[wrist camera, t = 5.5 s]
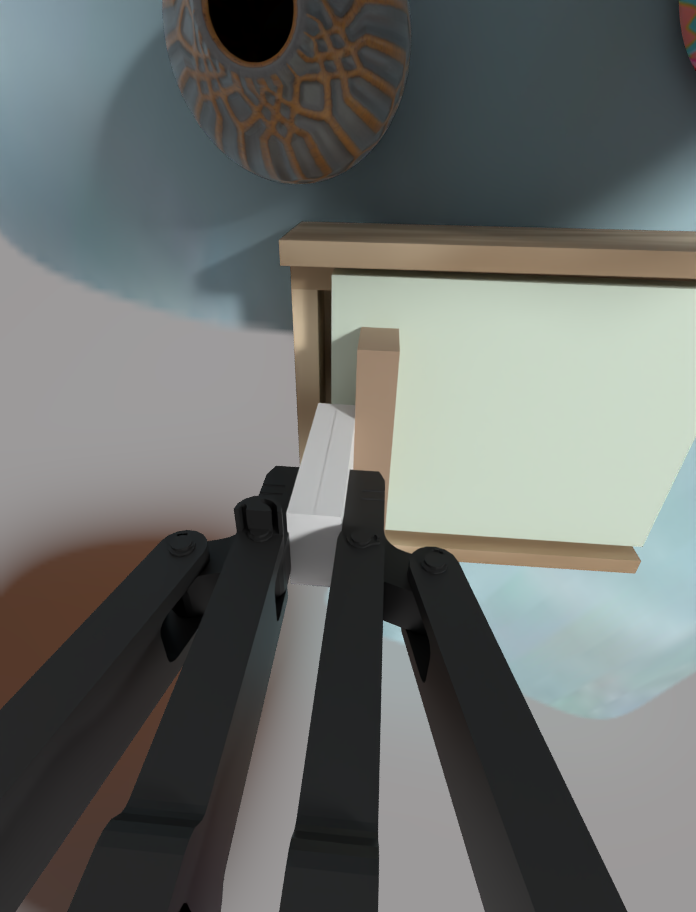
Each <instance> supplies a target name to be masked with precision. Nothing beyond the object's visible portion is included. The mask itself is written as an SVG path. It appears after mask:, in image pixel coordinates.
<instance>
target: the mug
mask: <svg viewBox="0 0 696 912" xmlns="http://www.w3.org/2000/svg"><path fill="white" fill-rule="evenodd" d="M679 16H680V25H681V32H682V37H683V41H684V45H685V48H686V51H687V54H688V56H689V59H690V61H691V63H692V65H693V67H694V69H695V71H696V0H679Z"/></svg>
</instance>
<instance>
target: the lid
mask: <svg viewBox="0 0 696 912" xmlns="http://www.w3.org/2000/svg"><path fill="white" fill-rule="evenodd" d="M331 404H344V405H355V433H354V462H353V470H364V471H379V472H380V473H381V475H382V477H383V478H384V480H385V510H384V533H385V530H397V531H412V532H427V533H442V534H457V535H472V536H486V537H501V538H516V539H531V540H546V541H561V542H576V543H591V544H606V545H620V546H635V547H643V545H644V543H645V541H646V539H647V537H648V534H649V532H650V530H651V528H652V526H653V524H654V522H655V520H656V518H657V516H658V514H659V512H660V510H661V507H662V505H663V503H664V501H665V499H666V497H667V495H668V493H669V491H670V489H671V487H672V485H673V483H674V480H675V478H676V476H677V474H678V472H679V470H680V468H681V466H682V464H683V462H684V460H685V458H686V456H687V453H688V451H689V449H690V447H691V445H692V443H693V441H694V439H695V437H696V282H694V281H667V280H641V279H615V278H589V277H563V276H537V275H510V274H484V273H458V272H432V271H406V270H380V269H354V268H335V269H334V271H333V273H332V344H331Z"/></svg>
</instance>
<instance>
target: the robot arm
mask: <svg viewBox="0 0 696 912" xmlns="http://www.w3.org/2000/svg"><path fill="white" fill-rule="evenodd" d="M354 433H355V405H344V404H326V403H318V406H317V409H316V413H315V416H314V420H313V423H312V427H311V430H310V433H309V437H308V440H307V444H306V447H305V451H304V454H303V457H302V461H301V464H300V467H286V466H275V467H274V468H273V469H272V470H271V471H270V472H269V473H268V474H267V475H266V478H265V480H264V483H263V486H262V488H261V491H260V494H259V496H253V497H250V498H246V499H244V500H242V501H241V502H239V503H238V504H237V505H236V507H235V508H234V514H235V521H236V528H237V533H236V535H233V536H231V537H228V538H224V539H219V540H213V541H207V539H206V538H205V536H204V535H203V534H201V533H199V532H197V531H190V530H185V531H179V532H176V533H173V534H171V535H169V536H167V537H166V538H165V539H163V540H162V541H161V542H160V543H159V544H158V545H157V546H156V547H155V548H154V549H153V550H152V551H151V552H150V553H149V554H148V555H147V557H146V558H145V559H144V560H143V561H142V562H141V563H140V564H139V565H138V566H137V567H136V568H135V569H134V570H133V571H132V572H131V573H130V574H129V576H127V577H126V579H125V580H124V581H123V582H122V583H121V584H120V585H119V586H118V587H117V588H116V589H115V590H114V591H113V592H112V593H111V594H110V595H109V596H108V597H107V599H106V600H105V601H104V602H103V603H102V604H101V605H100V606H99V607H98V608H97V609H96V610H95V611H94V612H93V613H92V614H91V615H90V617H89V618H88V619H86V620H85V622H84V623H83V624H82V625H81V626H80V627H79V628H78V629H77V630H76V631H75V632H74V633H73V634H72V635H71V636H70V637H69V638H68V639H67V641H66V642H64V644H63V645H62V646H61V647H60V648H59V649H58V650H57V651H56V652H55V653H54V654H53V655H52V656H51V657H50V658H49V659H48V661H46V662H45V664H43V666H42V667H41V668H40V669H39V670H38V671H37V672H36V673H35V674H34V675H33V676H32V677H31V678H30V679H29V680H28V681H27V682H26V684H24V685H23V687H22V688H21V689H20V690H19V691H18V692H17V693H16V694H15V695H14V696H13V697H12V698H11V699H10V700H9V701H8V702H7V703H6V704H5V705H4V706H3V708H2V709H1V710H0V912H16V910H17V909H18V907H19V906H20V904H21V903H22V901H23V900H24V898H25V896H26V895H27V894H28V893H29V891H30V890H31V888H32V887H33V885H34V884H35V882H36V881H37V879H38V878H39V876H40V875H41V873H42V872H43V870H44V869H45V868H46V866H47V865H48V863H49V862H50V860H51V859H52V857H53V856H54V854H55V853H56V851H57V850H58V848H59V847H60V846H61V844H62V843H63V841H64V840H65V838H66V837H67V835H68V834H69V832H70V831H71V829H72V828H73V826H74V825H75V824H76V822H77V820H78V819H79V817H80V816H81V814H82V813H83V812H84V810H85V809H86V807H87V806H88V804H89V803H90V801H91V800H92V799H93V797H94V796H95V794H96V793H97V791H98V790H99V788H100V787H101V785H102V784H103V782H104V781H105V779H106V778H107V777H108V775H109V774H110V772H111V771H112V769H113V768H114V766H115V765H116V763H117V762H118V760H119V759H120V757H121V756H122V755H123V753H124V751H125V750H126V749H127V747H128V746H129V744H130V743H131V741H132V740H133V738H134V737H135V735H136V734H137V732H138V731H139V730H140V728H141V727H142V725H143V724H144V722H145V721H146V719H147V718H148V716H149V715H150V713H151V712H152V710H153V709H154V708H155V706H156V704H157V703H158V701H159V700H160V699H161V697H162V696H163V694H164V693H165V691H166V690H167V688H168V687H169V685H170V684H171V683H172V681H173V679H174V678H175V677H176V675H177V674H178V672H179V671H180V669H181V668H182V670H181V672H180V675H179V677H178V680H177V682H176V685H175V687H174V690H173V692H172V694H171V697H170V700H169V702H168V705H167V707H166V709H165V712H164V714H163V717H162V719H161V722H160V724H159V727H158V729H157V732H156V734H155V737H154V739H153V742H152V744H151V747H150V749H149V752H148V754H147V757H146V759H145V762H144V764H143V767H142V769H141V772H140V774H139V777H138V779H137V782H136V784H135V786H134V789H133V791H132V794H131V797H130V799H129V801H128V803H127V805H126V807H125V808H124V810H123V811H122V813H120V814H119V815H117V816H116V817H114V818H113V819H111V820H110V822H109V823H108V824H107V826H106V827H105V828H104V830H103V832H102V833H101V836H100V837H99V840H98V842H97V844H96V845H95V848H94V850H93V853H92V855H91V857H90V860H89V862H88V864H87V867H86V869H85V871H84V874H83V876H82V878H81V881H80V883H79V886H78V888H77V890H76V893H75V895H74V897H73V900H72V903H71V904H70V907H69V909H68V911H67V912H221V905H222V892H223V881H224V874H225V869H226V864H227V860H228V855H229V851H230V847H231V843H232V838H233V834H234V830H235V825H236V821H237V816H238V812H239V808H240V803H241V799H242V795H243V790H244V786H245V781H246V777H247V773H248V769H249V764H250V760H251V756H252V751H253V747H254V743H255V738H256V734H257V730H258V725H259V721H260V717H261V712H262V708H263V704H264V699H265V695H266V691H267V686H268V682H269V678H270V673H271V668H272V665H273V660H274V656H275V651H276V647H277V642H278V638H279V634H280V630H281V625H282V621H283V617H284V612H285V608H286V603H287V599H288V592H287V584H288V580H289V576H290V579H291V580H290V581H291V584H299V585H312V586H325V587H330V592H329V599H328V606H327V613H326V620H325V627H324V634H323V641H322V648H321V654H320V661H319V668H318V675H317V682H316V689H315V696H314V703H313V710H312V717H311V723H310V730H309V737H308V744H307V751H306V758H305V765H304V773H303V779H302V786H301V792H300V800H299V806H298V813H297V819H296V825H295V830H294V833H293V835H292V838H291V842H290V847H289V852H288V858H287V864H286V871H285V877H284V884H283V890H282V897H281V903H280V910H279V912H378V887H379V844H378V808H379V806H378V805H379V765H380V764H379V763H380V723H381V679H382V677H381V676H382V637H383V621H386V622H389V623H391V624H394V625H397V626H399V627H401V631H402V635H403V638H404V641H405V645H406V648H407V652H408V655H409V658H410V662H411V665H412V668H413V672H414V675H415V678H416V682H417V685H418V688H419V692H420V695H421V698H422V702H423V705H424V708H425V712H426V715H427V718H428V722H429V725H430V729H431V732H432V735H433V739H434V742H435V746H436V749H437V752H438V756H439V759H440V762H441V766H442V769H443V772H444V776H445V779H446V782H447V786H448V789H449V792H450V796H451V799H452V802H453V806H454V809H455V812H456V816H457V819H458V823H459V826H460V830H461V833H462V836H463V840H464V843H465V846H466V850H467V853H468V856H469V859H470V863H471V866H472V870H473V873H474V877H475V880H476V883H477V886H478V890H479V893H480V896H481V900H482V903H483V906H484V910H485V912H627V910H626V908H625V906H624V904H623V902H622V900H621V898H620V895H619V893H618V891H617V889H616V887H615V885H614V883H613V881H612V879H611V877H610V875H609V873H608V871H607V869H606V866H605V864H604V862H603V860H602V858H601V856H600V854H599V852H598V850H597V848H596V846H595V844H594V842H593V839H592V837H591V835H590V833H589V831H588V829H587V827H586V825H585V823H584V821H583V819H582V817H581V815H580V813H579V810H578V808H577V806H576V804H575V802H574V800H573V798H572V796H571V794H570V792H569V790H568V788H567V786H566V784H565V781H564V780H563V777H562V775H561V773H560V771H559V769H558V767H557V765H556V763H555V761H554V759H553V757H552V755H551V752H550V750H549V748H548V746H547V744H546V742H545V740H544V738H543V736H542V734H541V732H540V730H539V728H538V726H537V724H536V721H535V719H534V718H533V715H532V713H531V711H530V709H529V707H528V705H527V703H526V701H525V699H524V697H523V695H522V692H521V690H520V688H519V686H518V684H517V682H516V680H515V678H514V676H513V674H512V672H511V670H510V668H509V666H508V663H507V661H506V659H505V657H504V655H503V653H502V651H501V649H500V647H499V645H498V643H497V641H496V639H495V637H494V634H493V632H492V630H491V628H490V626H489V624H488V622H487V620H486V618H485V616H484V614H483V612H482V610H481V608H480V605H479V603H478V601H477V599H476V597H475V595H474V593H473V591H472V589H471V587H470V585H469V583H468V581H467V579H466V577H465V574H464V572H463V570H462V568H461V566H460V564H459V562H458V560H457V559H456V558H455V557H454V555H453V554H451V553H450V552H448V551H447V550H445V549H442V548H439V547H430V546H426V547H422V548H419V549H417V550H416V551H414V552H413V553H412V554H411V553H408V552H405V551H402V550H400V549H398V548H396V547H395V546H393V545H392V544H391V543H390V542H389V541H388V540H387V538H386V536H385V533H384V510H385V480H384V478H383V477H382V475H381V473H380V472H379V471H364V470H353V462H354ZM182 666H183V667H182Z"/></svg>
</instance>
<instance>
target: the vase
mask: <svg viewBox="0 0 696 912" xmlns="http://www.w3.org/2000/svg"><path fill="white" fill-rule="evenodd" d="M162 13H163V27H164V35H165V41H166V46H167V51H168V55H169V59H170V63H171V66H172V70H173V73H174V76H175V79H176V81H177V84H178V87H179V89H180V91H181V94H182V96H183V98H184V100H185V102H186V104H187V106H188V107H189V109H190V111H191V113H192V114H193V116H194V118H195V119H196V121H197V122H198V124H199V125H200V127H201V128H202V129H203V131H204V132H205V133H206V135H207V136H208V137H209V138H210V139H211V140H212V142H213V143H214V144H215V145H216V146H217V147H218V148H219V149H220V150H221V151H222V152H223V153H224V154H225V155H227V156H228V157H229V158H230V159H231V160H233V161H234V162H235V163H237V164H238V165H240V166H241V167H243V168H244V169H246V170H248V171H250V172H252V173H254V174H256V175H258V176H260V177H262V178H265V179H268V180H271V181H275V182H279V183H286V184H310V183H316V182H321V181H325V180H328V179H331V178H333V177H336V176H338V175H340V174H342V173H344V172H346V171H347V170H349V169H350V168H352V167H353V166H355V165H356V164H357V163H359V162H360V161H361V160H362V159H363V158H364V157H365V156H367V154H368V153H369V152H370V151H371V150H372V149H373V148H374V147H375V146H376V144H377V143H378V142H379V141H380V139H381V138H382V136H383V135H384V133H385V132H386V130H387V128H388V127H389V125H390V123H391V121H392V119H393V117H394V115H395V113H396V111H397V108H398V106H399V104H400V101H401V98H402V95H403V91H404V88H405V84H406V80H407V75H408V70H409V63H410V54H411V16H410V6H409V0H162Z"/></svg>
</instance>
